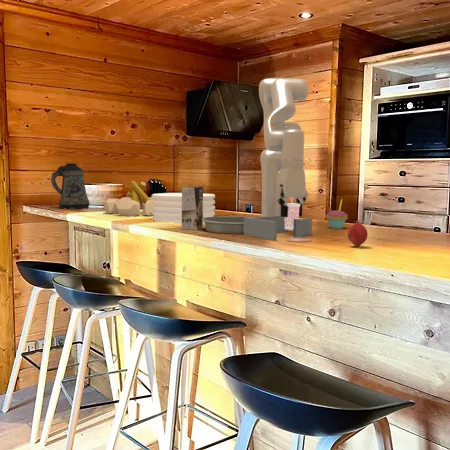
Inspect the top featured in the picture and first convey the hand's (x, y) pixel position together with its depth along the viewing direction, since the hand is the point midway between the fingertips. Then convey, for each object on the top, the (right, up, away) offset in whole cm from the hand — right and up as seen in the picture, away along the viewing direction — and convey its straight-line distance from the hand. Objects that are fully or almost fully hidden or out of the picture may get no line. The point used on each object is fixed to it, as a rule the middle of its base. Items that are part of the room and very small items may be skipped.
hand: (291, 215), depth 183 cm
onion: (+16, -10, -28) cm, 34 cm away
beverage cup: (0, -5, +1) cm, 5 cm away
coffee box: (-36, -5, +14) cm, 39 cm away
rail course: (-4, -7, -4) cm, 9 cm away
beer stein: (-109, +6, +105) cm, 152 cm away
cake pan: (-20, -6, +11) cm, 23 cm away
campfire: (-66, +2, +78) cm, 102 cm away
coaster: (0, -8, -16) cm, 18 cm away
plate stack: (-42, -1, +49) cm, 64 cm away
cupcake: (+20, -5, +21) cm, 30 cm away
